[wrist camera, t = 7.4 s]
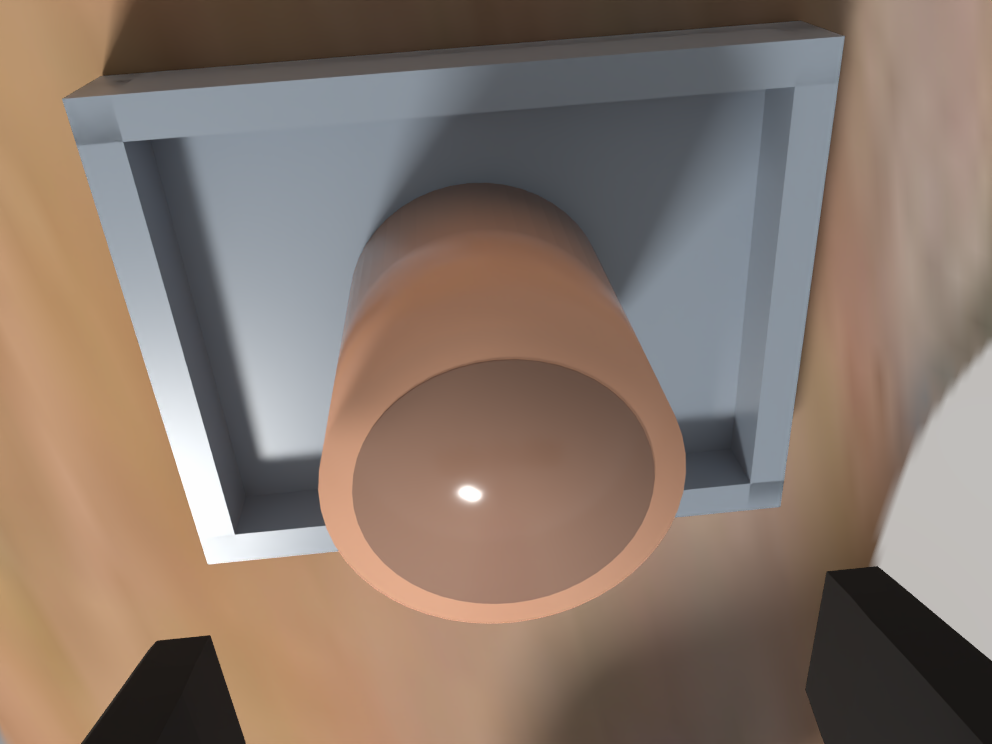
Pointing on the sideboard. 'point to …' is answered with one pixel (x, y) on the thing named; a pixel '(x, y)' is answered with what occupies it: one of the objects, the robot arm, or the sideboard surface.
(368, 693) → the sideboard surface
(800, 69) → the tray
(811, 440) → the sideboard surface
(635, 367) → the cup
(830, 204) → the sideboard surface
